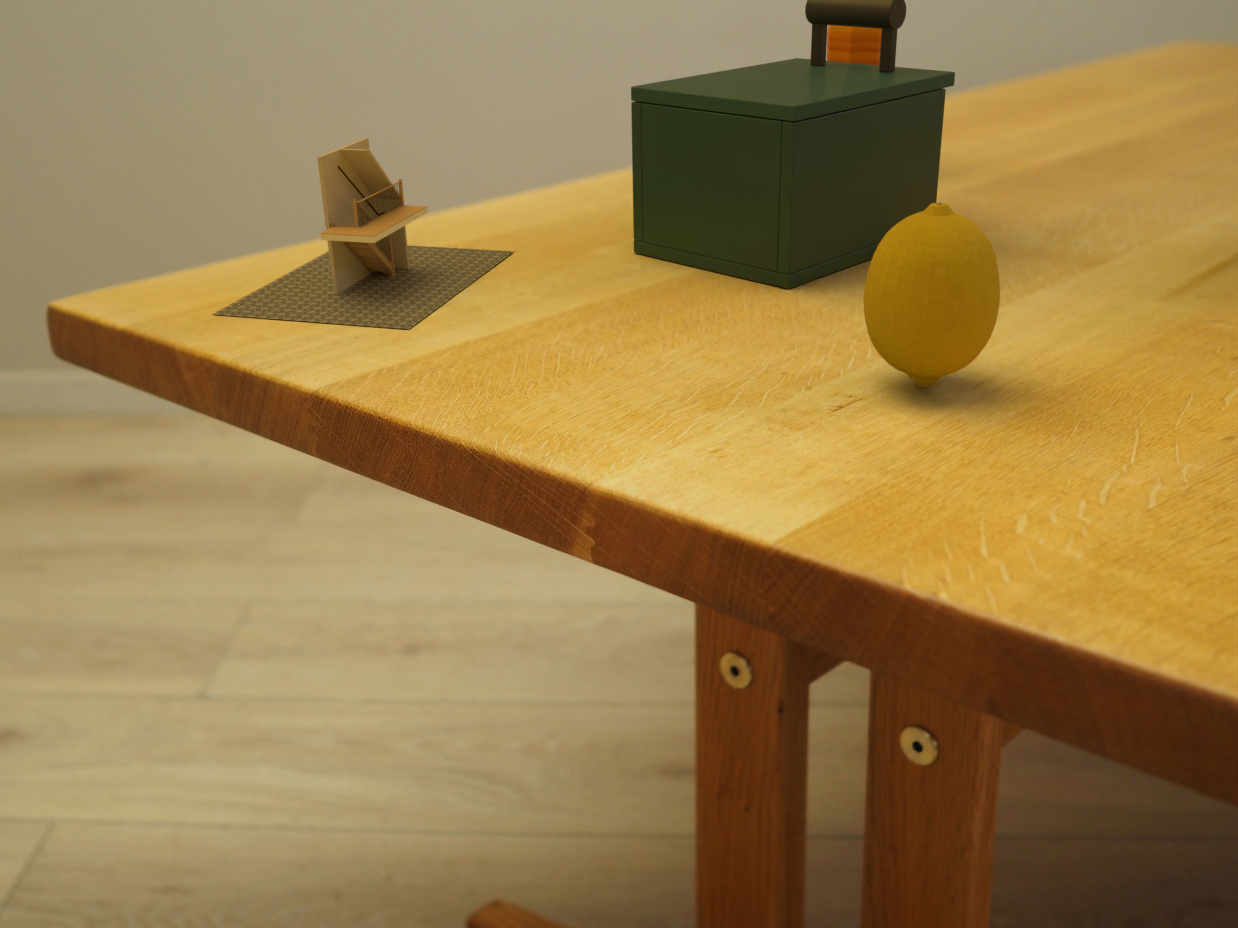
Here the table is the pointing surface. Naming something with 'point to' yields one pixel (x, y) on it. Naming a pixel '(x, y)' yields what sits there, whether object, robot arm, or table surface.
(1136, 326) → the table surface
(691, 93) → the bin lid
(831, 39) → the carrot
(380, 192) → the architectural model
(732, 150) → the bin
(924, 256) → the lemon
